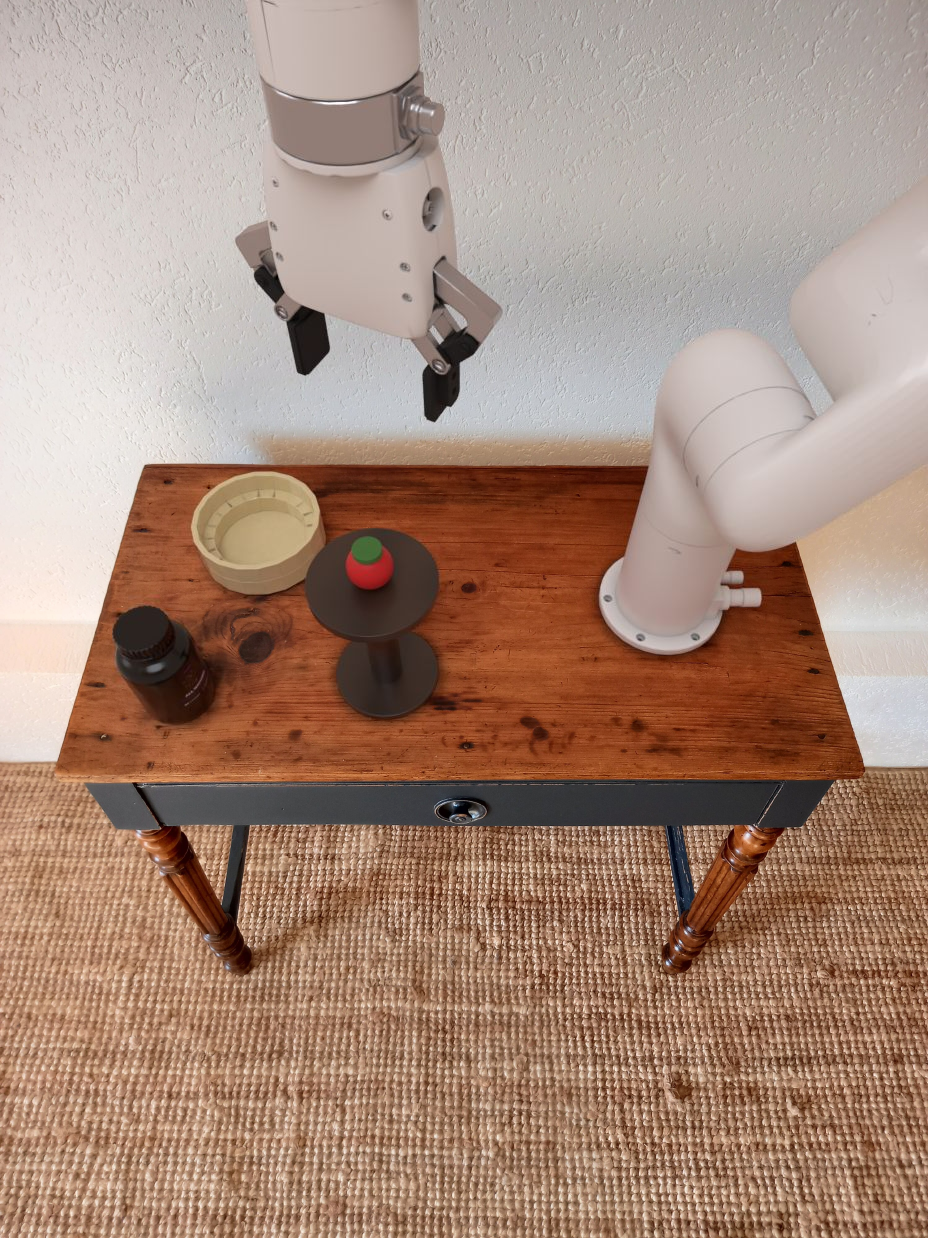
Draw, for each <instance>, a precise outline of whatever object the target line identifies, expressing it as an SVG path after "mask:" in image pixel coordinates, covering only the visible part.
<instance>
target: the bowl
mask: <svg viewBox="0 0 928 1238" xmlns="http://www.w3.org/2000/svg"><path fill="white" fill-rule="evenodd" d="M317 499H318V498H317V497H316V495H315V494H314V492H313V491H312V490H311V489H310V488H309V486H308V485H307V484H306V483H304V482H302V481H301V480H299V479H298V478H295V477H293V476H292V475H288V474H284V473H281V472H276V471H252V472H248V473H243V474H238V475H235V476H233V477H231V478H228V479H226V480H225V481H223V482H221V483H218V484H217V485H216V486H215V487H213V488H212V489H211V490H210V491H209V492H207V493H206V494H205V495H204V496H203V497H202V499H201V500H200V501H199V503H198V505H197V506H196V508H195V509H194V511H193V516H192V521H191V524H190V530H191V535H192V539H193V543H194V545H195V548H196V549H197V552H198V555H199V557H200V558H201V559H200V560H201V561H202V564H203V565H204V567H205V569H206V570H207V572H208V573H209V575H210V576H211V578H212V579H213V580H214V581H215V582H216V583H218V584H220V585H221V586H223V587H224V588H226V589H227V590H228V591H233V592H237V593H239V594H243V595H270V594H273V593H277V592H278V593H279V592H282V591H285V590H287V589H289V588H291V587H293V586H294V585H296V584H298V583H300V582H302V581H304V580H305V579H306V574H307V571H308V568H309V566H310V564H311V562H312V560H313V559H314V557H315V556H316V555H317V553H318V552H319V551H320V550H321V549H322V548H323V547H325V546H326V542H327V541H326V540H327V534H326V530H325V527H324V521H323V517H322V513H321V509H320V505H319V503H318V500H317Z"/></svg>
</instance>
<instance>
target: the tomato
mask: <svg viewBox="0 0 928 1238" xmlns="http://www.w3.org/2000/svg"><path fill="white" fill-rule="evenodd" d="M346 571H347V574H348V577H349V578H350V580H351V581H352V582H353V583H354V584H355V585H356V586H358V587H360V588H363V589H368V590H372V589H377V588H380V587H382V586H383V585H385V584H386V583H387V582H388V581H389V579H390V578H391V575H392V573H393V559H392V556H391V554H390V553H389V552H388V550H387V549H386V548H385V547H383V546H382V544H381V542H380V541H379V540H378V539H376V538H374V537H369V536H367V537H362V538H359V539H357V540H356V541H355V542H354V543H353V545H352V549H351V552H350V553H349V555H348V557H347V560H346Z"/></svg>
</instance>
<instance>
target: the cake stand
mask: <svg viewBox="0 0 928 1238" xmlns="http://www.w3.org/2000/svg"><path fill="white" fill-rule="evenodd" d="M367 536H369V537H374V538H376V539H378V540H379V541H380V542H381V544H382V546H383V547H385V548H386V549H387V550H388V552H389V553H390V554H391V556H392V559H393V573H392V575H391V578H390V579H389V581H388V582H387V583H386V584H385V585H383V586H382V587H380V588H377V589H372V590H368V589H363V588H360V587H358V586H356V585H355V584H354V583H353V582H352V581H351V580H350V578H349V577H348V574H347V571H346V560H347V557H348V555H349V553H350V552H351V549H352V545H353V543H354V542H355V541H356V540H357V539H359V538H362V537H367ZM439 573H440V572H439V569H438V565H437V562H436V560H435V558H434V556H433V554H432V553H431V552H430V551H429V549H428V548H427V546H425V545H424V544H423V543H421V541H419V540H417V538H415V537H413V536H412V535H409V534H407V533H405V532H402V531H399V530H396V529H392V528H385V527H369V528H362V529H355V530H353V531H349V532H346V533H344V534H342V535H340V536H338V537H336V538H334V539H332V540H331V541H329V542H328V543H327V544H325V547H323V548H322V549H321V550H320V551H319V552H318V553H317V555H316V556H315V557H314V559H313V560H312V562H311V564H310V566H309V568H308V571H307V574H306V578H305V579H304V592H305V597H306V602H307V605H308V607H309V608H308V609H309V610H310V613H311V614H312V616H313V617H314V619H315V620H316V621H317V623H318V624H319V625H320V626H321V627H322V628H323V629H325V630H326V631H327V632H329V633H330V634H331V635H334V636H336V637H338V638H340V639H342V640H346V641H349V642H350V643H349V644H348V645H347V646H346V647H345V649H344V650H343V652H342V653H341V654H340V656H339V659H338V661H337V665H336V669H335V670H336V671H335V679H336V685H337V689H338V692H339V694H340V696H341V698H342V699H343V700H344V702H345V704H347V706H349V708H351V710H353V711H354V712H356V713H357V714H360V715H362V716H363V717H366V718H369V719H373V720H374V719H375V720H378V721H379V720H381V721H389V720H396V719H401V718H404V717H407V716H409V715H411V714H413V713H415V712H416V711H418V710H419V709H421V708H422V707H423V706H425V704H426V703H427V702H428V701H429V700H430V698H431V697H432V696H433V694H434V692H435V690H436V687H437V686H438V685H437V684H438V680H439V666H438V665H439V664H438V659H437V657H436V653H435V652H434V650H433V648H432V647H431V645H430V644H429V643H428V642H427V641H425V639H423V638H422V637H421V636H419V635H418V634H417V633H414V632H413V630H415V629H416V628H418V627H419V626H420V625H421V624H422V623H423V622H424V621H426V620H427V619H428V617H429V616H430V614H431V613H432V611H433V610H434V608H435V606H436V603H437V601H438V597H439V595H440V594H439V593H440V574H439Z"/></svg>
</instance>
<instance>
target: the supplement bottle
mask: <svg viewBox="0 0 928 1238" xmlns="http://www.w3.org/2000/svg"><path fill="white" fill-rule="evenodd" d="M111 630H112V633H111V635H112V640H113V643H114V645H115V647H116V648H115V652H114V663H115V667H116V668H117V671H118V672H119V675H121V677H122V678H123V680H124V681H125V683H126V684H127V685H128V687H129V688H130V690H131V691H132V693H133V694H134V696H135V697H136V698H137V700H138V702H139V703H140V704H141V705H142V707H143V708H144V710H145V711H146V713H147V714H148V715H149V716H150V717H151V718H152V719H154V720H155V721H157V722H159V723H162V724H166V725H179V724H181V725H182V724H184V723H188V722H191V721H192V720H195V719H196V718H198V717H200V715H202V714H203V713H204V712H205V711H206V710H207V708H209V706H210V704H211V703H212V701H213V699H214V695H215V691H216V690H215V686H216V685H215V680H214V678H213V674H212V673H211V670H210V669H209V667H208V665H207V663H206V661H205V659H204V657H203V655H202V653H201V652H200V649H199V647H198V646H197V644H196V642H195V640H194V638H193V635H192V634H191V633H190V631H189V630H188V628H186V626H184V625H183V624H182V623H180V622H178V621H176V620H174V619H170V617H169V616H168V615H167V613H166V612H165V611H164V610H162V609H161V608H159V607H156V606H152V605H138V606H136V607H132V608H129V609H128V610H127V611H125V612H123V613H122V614H121V615H120V616H119V617H118V619H116V621H115V623H114V624H113V628H112V629H111Z"/></svg>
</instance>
